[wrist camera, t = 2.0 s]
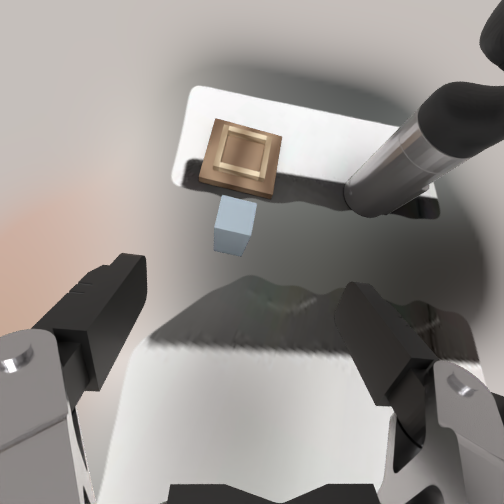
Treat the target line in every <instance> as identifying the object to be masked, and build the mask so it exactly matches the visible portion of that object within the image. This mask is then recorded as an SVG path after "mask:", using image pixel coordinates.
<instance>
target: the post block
mask: <svg viewBox="0 0 504 504" xmlns="http://www.w3.org/2000/svg"><path fill="white" fill-rule="evenodd" d="M256 206H257V203H253V202H249V201H245V200H241V199H237V198H232V197H228V196H224V195H222V198H221V202H220V207H219V211H218V215H217V219H216V223H215V228H214V251H218V252H222V253H227V254H232V255H236V256H242V254H243V252H244V250H245V248H246V245H247V243H248V241H249V239H250V237H251V233H252V228H253V222H254V217H255V212H256Z"/></svg>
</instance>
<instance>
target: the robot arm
mask: <svg viewBox="0 0 504 504" xmlns="http://www.w3.org/2000/svg"><path fill="white" fill-rule="evenodd" d="M480 48H481V50H482V51H483V53H484V54H485V55H486V57H487V58H488V59H489V60H490V61H491V62H492V63H494V64H495V65H497V66H498V67H499V68H500V69H502V70H503V71H504V0H502V1H501V2H500V3H499V4H498V6H497V7H496V8H495V10H494V11H493V13H492V14H491V16H490V17H489V19H488V20H487V22H486V24H485V26H484V28H483V30H482V33H481V36H480ZM502 140H504V86H486V85H480V84H475V83H469V82H452V83H448V84H445V85H443V86H442V87H441V88H439V89H437V90H436V91H435V92H434V93H433V94H432V95H431V96H430V97H429V98H428V99H427V100H426V101H425V102H424V103H423V104H422V105H421V106H420V107H419V108H418V109H417V111H415V113H413V114H412V116H410V117H409V118H408V119H407V121H406V122H405V123H404V124H403V125H402V126H401V127H400V128H399V129H398V130H397V131H396V132H395V133H394V134H393V135H392V136H391V137H390V138H389V139H388V140H387V141H386V142H385V143H384V144H383V145H382V146H381V147H380V148H379V149H378V150H377V151H376V152H375V153H374V154H373V155H372V156H371V158H370V159H369V160H368V161H367V162H366V163H365V164H364V165H363V166H362V167H361V168H360V169H359V170H358V171H357V172H356V173H355V174H354V175H353V176H352V177H351V178H350V179H349V180H348V181H347V182H346V184H345V186H344V197H345V200H346V202H347V204H348V205H349V207H350V208H351V209H352V210H353V211H354V212H356V213H357V214H359V215H361V216H364V217H367V218H373V217H377V216H379V215H387V214H389V213H391V212H392V211H394V210H396V209H397V208H399V207H401V206H402V205H404V204H406V203H407V202H409V201H411V200H412V199H414V198H416V197H417V196H419V195H421V194H422V193H424V192H426V191H427V190H428V189H429V184H430V183H432V182H433V181H435V180H437V179H438V178H440V177H441V176H443V175H445V174H446V173H448V172H449V171H451V170H452V169H454V168H456V167H457V166H459V165H460V164H462V163H464V162H465V161H467V160H468V159H470V158H472V157H473V156H475V155H477V154H478V153H480V152H482V151H483V150H485V149H487V148H489V147H490V146H493V145H495V144H497V143H499V142H500V141H502ZM146 296H147V268H146V258H145V256H142V255H133V254H126V253H121V254H120V255H119V256H118V257H117V258H116V259H115V260H114V262H113V263H112V264H111V265H110V266H109V265H102V266H100V267H98V268H96V269H94V270H92V271H90V272H88V273H87V274H86V275H85V276H84V277H83V278H82V279H81V280H80V281H79V282H78V284H76V285H75V286H74V287H73V288H72V289H71V290H70V291H69V293H67V294H66V295H65V296H64V297H63V298H62V299H61V300H60V301H59V302H58V303H57V304H56V305H55V306H54V307H52V309H51V310H50V311H48V312H47V313H46V314H45V315H44V316H43V318H41V319H40V320H39V321H38V322H37V323H36V324H35V325H34V326H33V327H32V328H31V329H27V330H21V331H16V332H13V333H10V334H7V335H4V336H2V337H0V504H97V503H96V499H95V495H94V491H93V487H92V482H91V478H90V473H89V469H88V463H87V459H86V454H85V448H84V443H83V438H82V433H81V428H80V423H79V418H78V413H77V408H76V405H77V402H78V401H79V399H80V398H81V396H82V394H83V392H84V391H100V389H101V387H102V385H103V384H104V381H105V380H106V378H107V376H108V374H109V372H110V370H111V368H112V366H113V364H114V362H115V360H116V358H117V357H118V354H119V353H120V351H121V349H122V347H123V345H124V343H125V341H126V339H127V337H128V335H129V333H130V332H131V330H132V328H133V326H134V324H135V322H136V320H137V318H138V316H139V314H140V312H141V310H142V308H143V306H144V304H145V301H146ZM334 320H335V324H336V327H337V329H338V331H339V333H340V335H341V337H342V339H343V341H344V343H345V345H346V347H347V349H348V351H349V353H350V355H351V357H352V359H353V361H354V363H355V365H356V367H357V369H358V371H359V373H360V375H361V377H362V379H363V381H364V383H365V385H366V387H367V389H368V391H369V393H370V395H371V397H372V399H373V401H374V403H375V405H376V406H392V408H393V410H394V413H393V414H392V415H391V417H390V423H389V433H388V443H387V453H386V463H385V472H384V478H383V482H382V485H381V487H380V489H379V491H378V493H376V490H375V488H374V485H373V484H326V485H324V486H322V487H319V488H317V489H315V490H312V491H310V492H308V493H306V494H303V495H301V496H299V497H296V498H294V499H292V500H289V501H287V502H284V503H275V502H272V501H269V500H267V499H264V498H261V497H258V496H256V495H253V494H250V493H247V492H245V491H242V490H239V489H236V488H234V487H231V486H228V485H226V484H171V485H170V490H169V495H168V501H166V502H163V503H160V504H504V397H503V396H500V395H498V394H495V393H492V392H490V391H489V390H488V388H487V387H486V386H485V385H484V384H483V383H482V382H481V381H480V380H479V379H478V378H477V377H476V376H474V375H473V374H472V373H470V372H469V371H467V370H466V369H464V368H462V367H460V366H458V365H456V364H454V363H451V362H448V361H440V360H439V359H438V357H437V356H436V355H435V354H434V353H433V352H432V351H431V349H430V348H429V347H428V346H427V345H426V344H425V342H424V341H423V340H422V339H421V338H420V337H419V336H418V334H417V333H416V332H415V331H414V330H413V329H412V328H410V327H409V326H410V325H409V324H408V323H407V322H406V321H405V319H402V316H401V315H400V314H399V313H398V311H397V310H396V309H395V308H394V307H393V306H392V305H391V304H389V303H388V302H387V301H385V300H384V299H383V298H382V297H381V296H380V295H379V294H378V292H377V291H376V290H375V289H374V288H373V286H372V285H370V284H366V283H358V282H350V283H348V284H347V286H346V288H345V290H344V292H343V294H342V297H341V299H340V301H339V303H338V305H337V308H336V310H335V314H334Z"/></svg>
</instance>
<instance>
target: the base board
mask: <svg viewBox="0 0 504 504" xmlns="http://www.w3.org/2000/svg"><path fill="white" fill-rule="evenodd" d="M281 141H282V136H278V135H275V134H271V133H267V132H264V131H260V130H256V129H253V128H249V127H246V126H242V125H238V124H235V123H231V122H227V121H224V120H220V119H216V118H215V122H214V125H213V129H212V132H211V136H210V139H209V143H208V146H207V150H206V153H205V157H204V160H203V164H202V167H201V171H200V174H199V182H203V183H207V184H211V185H215V186H219V187H223V188H228V189H232V190H236V191H240V192H244V193H248V194H252V195H256V196H260V197H265V198H269V199H271V197H272V195H273V189H274V183H275V177H276V171H277V165H278V159H279V153H280V147H281Z"/></svg>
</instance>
